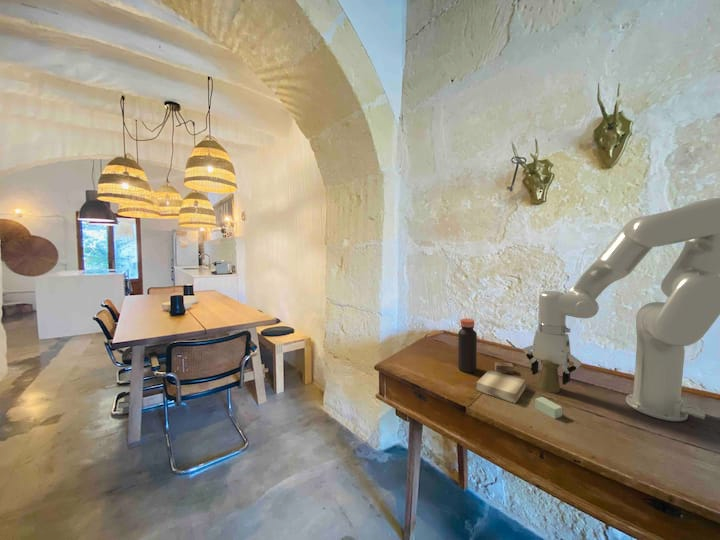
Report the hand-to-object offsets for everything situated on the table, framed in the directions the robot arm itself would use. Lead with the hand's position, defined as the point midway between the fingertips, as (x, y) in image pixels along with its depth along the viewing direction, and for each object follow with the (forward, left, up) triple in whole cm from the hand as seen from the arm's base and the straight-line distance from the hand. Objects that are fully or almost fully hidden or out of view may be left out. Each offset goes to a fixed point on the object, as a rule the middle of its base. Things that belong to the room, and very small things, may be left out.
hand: (549, 378), depth 97 cm
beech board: (+10, +13, -4) cm, 17 cm away
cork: (0, 0, -4) cm, 4 cm away
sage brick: (-5, +15, -4) cm, 16 cm away
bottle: (+26, +8, -4) cm, 27 cm away
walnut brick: (+16, -1, -4) cm, 16 cm away
